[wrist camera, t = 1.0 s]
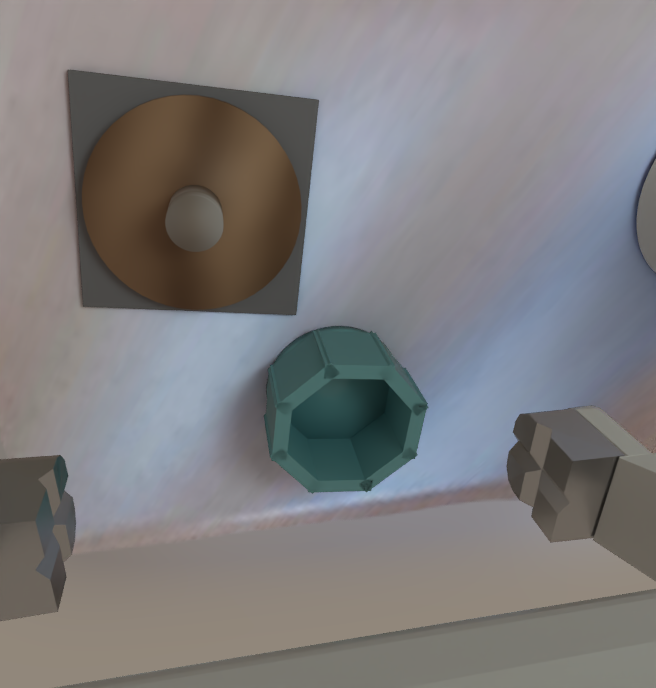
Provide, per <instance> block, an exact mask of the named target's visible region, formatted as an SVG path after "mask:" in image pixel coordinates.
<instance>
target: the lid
mask: <svg viewBox="0 0 656 688" xmlns="http://www.w3.org/2000/svg"><path fill="white" fill-rule="evenodd" d="M82 208H83V215H84V220H85V224H86V227H87V231H88V234H89V236H90V238H91V241H92V243H93V245H94V247H95V249H96V250H97V252H98V254H99V256H100V257H101V259H102V260H103V261H104V263H105V264H106V265H107V267H108V268H109V269H110V270H111V271H112V272H113V273H114V274H115V275H116V276H117V277H118V278H119V279H120V280H121V281H122V282H123V283H125V284H126V285H127V286H128V287H130V288H131V289H133V290H134V291H136V292H137V293H139V294H141V295H142V296H145V297H147V298H149V299H151V300H153V301H155V302H158V303H161V304H164V305H167V306H171V307H176V308H181V309H191V310H207V309H214V308H221V307H224V306H228V305H232V304H235V303H237V302H240V301H242V300H244V299H246V298H248V297H250V296H252V295H254V294H255V293H257V292H258V291H259V290H261V289H262V288H264V287H265V286H266V285H267V284H268V283H269V282H270V281H272V280H273V279H274V278H275V277H276V275H277V274H278V273H279V272H280V271H281V269H282V268H283V267H284V265H285V263H286V262H287V260H288V259H289V257H290V255H291V253H292V251H293V248H294V246H295V244H296V240H297V237H298V234H299V229H300V223H301V208H302V205H301V195H300V189H299V184H298V180H297V177H296V174H295V171H294V169H293V166H292V164H291V162H290V160H289V158H288V156H287V154H286V152H285V151H284V150H283V148H282V147H281V145H280V144H279V142H278V141H277V139H276V138H275V137H274V136H273V135H272V134H271V133H270V132H269V130H268V129H267V128H266V127H265V126H264V125H262V124H261V123H260V122H259V121H258V120H257V119H255V118H254V117H253V116H251V115H250V114H248V113H247V112H245V111H244V110H242V109H240V108H238V107H236V106H234V105H232V104H230V103H227V102H224V101H221V100H218V99H215V98H211V97H206V96H200V95H184V94H183V95H172V96H166V97H162V98H157V99H153V100H151V101H148V102H146V103H143V104H141V105H139V106H137V107H135V108H134V109H132V110H130V111H128V112H127V113H126V114H124V115H123V116H122V117H121V118H119V119H118V120H117V121H116V122H114V123H113V124H112V125H111V126H110V127H109V128H108V130H107V131H106V132H105V133H104V134H103V135H102V137H101V138H100V140H99V141H98V143H97V144H96V146H95V147H94V149H93V151H92V154H91V156H90V158H89V160H88V163H87V166H86V170H85V173H84V178H83V185H82Z"/></svg>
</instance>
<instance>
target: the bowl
mask: <svg viewBox="0 0 656 688" xmlns="http://www.w3.org/2000/svg"><path fill="white" fill-rule="evenodd" d="M268 373H269V375H268V379H267V385H266V395H267V405H266V414H265V415H264V420H265V427H266V434H267V440H268V447H269V454H270V457H271V460H272V461H275V462H276V463H278V464H279V465H280V466H281V467H282V468H283V469H284V470H286V471H287V472H288V473H289V474H290V475H291V476H293V477H294V478H295V479H296V480H297V481H298V482H299V483H301V484H302V485H303V486H304V487H305V488H306V489H308V492H311V493H312V494H313V493H314V492H342V491H366V492H368V491H371V489H372V488H373V487H374V486H376V485H377V484H379V483H380V482H381V481H383V480H384V479H385V478H387V477H388V476H389V475H391V474H392V473H394V472H395V471H396V470H398V469H399V468H400V467H402V466H403V465H405V464H406V463H407V462H409V461H410V460H411V459H415V456H417V453H416V452H417V448H418V443H419V439H420V434H421V430H422V426H423V421H424V417H425V412H426V409H427V408H428V406H427V404H428V403H427V402H426V400H425V399H424V397H423V395H422V394H421V392H420V390H419V389H418V387H417V386H416V384H415V382H414V381H413V379H412V377H411V376H410V374H409V373H408V371H407V369H406V368H403V367H402V366H401V365H400V363H399V362H398V361H397V360H396V359H395V358H394V357H393V355H392V354H391V352H390V351H389V349H388V348H387V347H386V345H385V344H384V343H383V342H382V341H381V340H379V338H378V336H377V334H376V333H373V332H372V331H371V332H370V333H368V332H366V331H364V330H361V329H358V328H353V327H347V326H331V327H324V328H320V329H317V330H313V331H311V332H308V333H306V334H304V335H302V336H300V337H299V338H297V339H296V340H294V341H293V342H291V343H290V344H289V345H288V346H287V347H286V348H285V349H284V350H283V351H282V352H281V353H280V354H279V356H278V357H277V359H276V360H275V362H274V363H273V365H270V368H268Z"/></svg>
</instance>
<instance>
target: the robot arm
mask: <svg viewBox="0 0 656 688" xmlns="http://www.w3.org/2000/svg"><path fill="white" fill-rule="evenodd" d="M637 237H638V242H639V246H640V249H641V252H642V254H643V256H644V258H645V260H646V262H647V263H648V265H649V266H650V267H651V268H652V270H653V271H654V272H655V273H656V159H655V161H654V163H653V165H652V167H651V169H650V171H649V173H648V175H647V178H646V180H645V183H644V185H643V188H642V192H641V195H640V199H639V204H638V210H637ZM513 433H514V435H515V436H516V438H517V440H518V442H517V443H516V444H515V445H514V447H513V448H512V449H511V450H510V451H509V454H508V460H507V473H508V480H509V483H510V485H511V488H512V490H513V492H514V493H515V494H516V496H517V497H518V499H519V500H520V501H522V502H524V503H526V504H528V505H530V506H532V507H533V509H532V518H533V519H534V521H535V522H536V523H537V525H538V526H539V527H540V529H541V530H542V532H543V533H544V534H545V536H546V537H547V538H548V540H549V541H550V542H559V541H569V540H578V539H587V538H594V539H593V540H594V541H595V542H597V543H598V544H600V545H602V546H603V547H604V548H606V549H607V550H609V551H610V552H612V553H613V554H615V555H617V556H618V557H620V558H621V559H623V560H624V561H626V562H627V563H629V564H631V565H632V566H634V567H635V568H637V569H638V570H639V571H641V572H642V573H644V574H645V575H647V576H649V577H650V578H652V579H653V580H654V581H656V453H651V452H650V451H649V450H648V449H646V448H645V447H644V446H643V445H642V444H641V443H640V442H638V441H637V440H636V439H635V438H634V437H633V436H631V435H630V434H629V433H628V432H627V431H626V430H625V429H623V428H622V427H621V426H620V425H619V424H618V423H616V422H615V421H614V420H613V419H612V418H611V417H610V416H608V415H607V414H606V413H605V412H604V411H603V410H601V409H600V408H598V407H595V406H592V405H591V406H583V407H575V408H568V409H564V410H554V411H544V412H534V413H525V414H520V415H519V417H518V418H517V420H516V421H515V426H514V430H513ZM67 478H68V473H67V469H66V464H65V460H64V459H63V457H62V456H61V455H54V456H40V457H26V458H12V459H0V621H5V620H10V619H17V618H22V617H28V616H34V615H40V614H46V613H52V612H58V609H59V604H60V601H61V597H62V593H63V589H64V584H65V581H66V572H65V568H64V563H63V562H64V561H66V560H67V559H68V558H69V557H70V556H71V555H72V551H73V547H74V542H75V530H76V517H75V507H74V502H73V497H72V496H70V495H69V494H68V493H67V492H65V491H64V489H65V485H66V482H67ZM55 688H656V589H652V590H647V591H641V592H635V593H628V594H622V595H616V596H610V597H604V598H598V599H591V600H585V601H579V602H573V603H567V604H561V605H554V606H548V607H542V608H536V609H530V610H523V611H517V612H511V613H505V614H499V615H492V616H486V617H480V618H474V619H468V620H462V621H456V622H450V623H444V624H437V625H432V626H425V627H420V628H413V629H407V630H401V631H396V632H389V633H383V634H377V635H371V636H365V637H359V638H353V639H347V640H341V641H335V642H329V643H322V644H316V645H310V646H305V647H298V648H292V649H286V650H281V651H274V652H268V653H262V654H256V655H250V656H244V657H238V658H232V659H225V660H219V661H213V662H207V663H201V664H196V665H190V666H184V667H177V668H171V669H165V670H158V671H153V672H146V673H140V674H135V675H128V676H122V677H116V678H110V679H104V680H98V681H92V682H85V683H79V684H73V685H67V686H62V687H55Z"/></svg>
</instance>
